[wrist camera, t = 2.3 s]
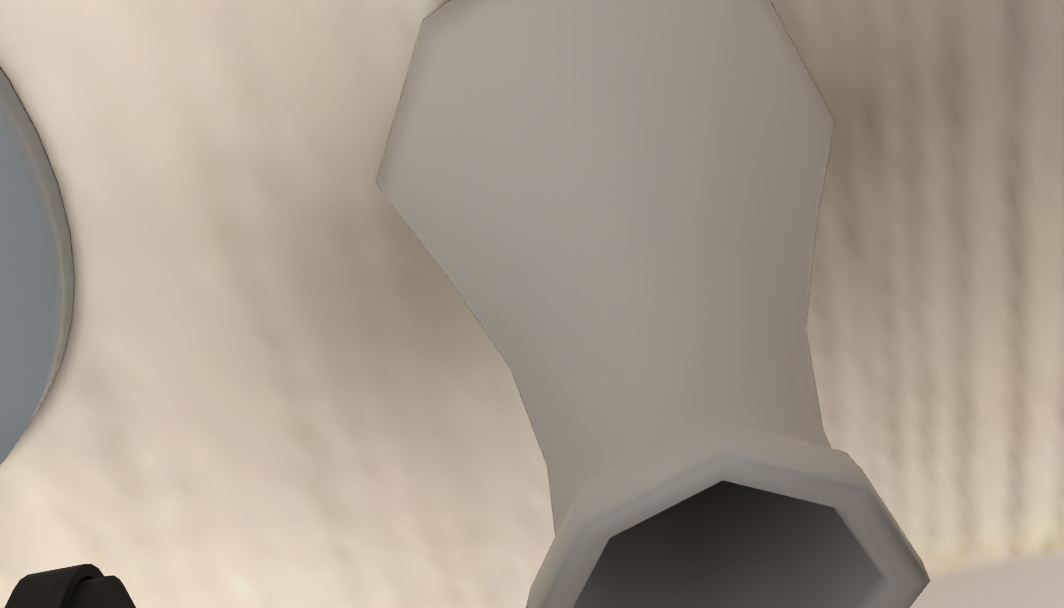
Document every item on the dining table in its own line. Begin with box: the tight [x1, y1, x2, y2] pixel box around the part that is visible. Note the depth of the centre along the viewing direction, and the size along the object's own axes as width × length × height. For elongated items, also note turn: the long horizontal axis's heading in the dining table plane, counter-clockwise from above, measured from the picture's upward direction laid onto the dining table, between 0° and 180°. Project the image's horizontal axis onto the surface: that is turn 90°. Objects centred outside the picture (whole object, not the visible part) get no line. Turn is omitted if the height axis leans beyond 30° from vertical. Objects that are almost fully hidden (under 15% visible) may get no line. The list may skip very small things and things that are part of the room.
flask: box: [376, 0, 930, 608], centre depth 13 cm, size 7×7×10 cm
